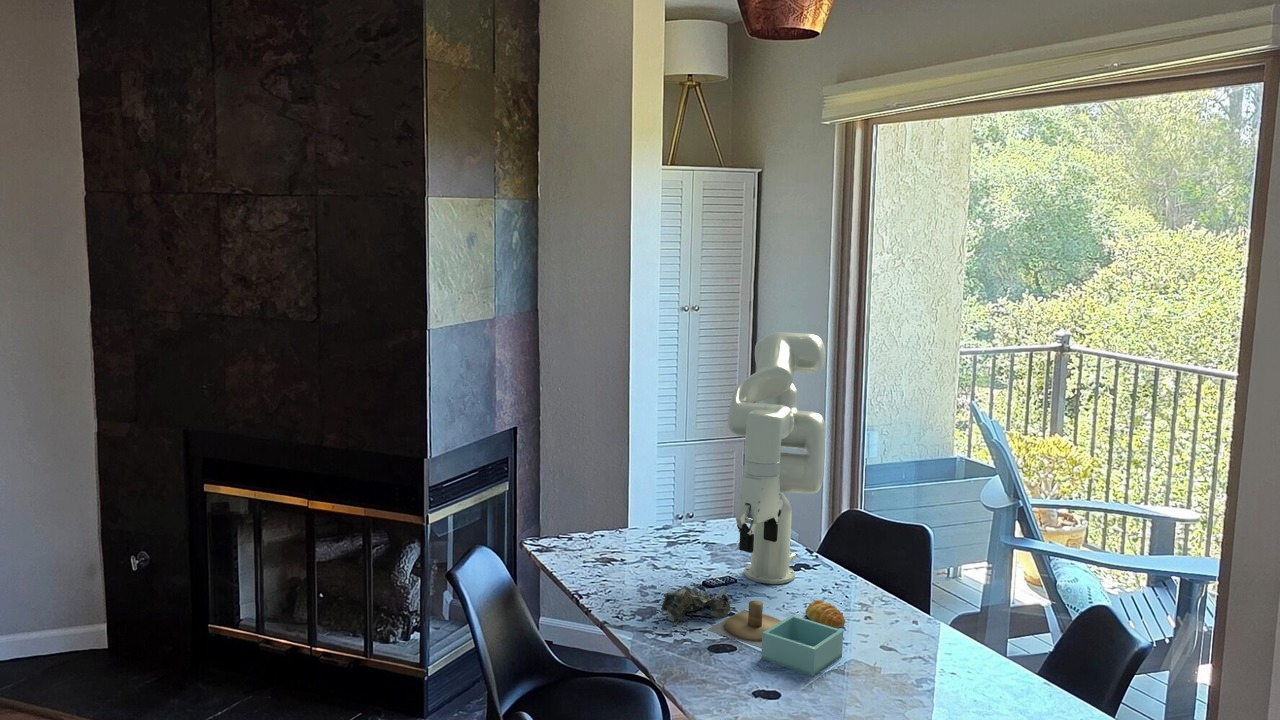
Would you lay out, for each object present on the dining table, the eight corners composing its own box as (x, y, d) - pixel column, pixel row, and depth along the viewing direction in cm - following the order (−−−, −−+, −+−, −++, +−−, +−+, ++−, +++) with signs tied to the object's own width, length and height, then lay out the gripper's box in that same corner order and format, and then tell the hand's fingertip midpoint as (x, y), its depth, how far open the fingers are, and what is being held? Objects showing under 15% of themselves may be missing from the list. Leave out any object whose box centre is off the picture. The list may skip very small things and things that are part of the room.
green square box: (790, 641, 219) (792, 615, 219) (841, 658, 212) (843, 630, 211) (761, 660, 210) (762, 632, 209) (813, 678, 203) (814, 649, 202)
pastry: (852, 627, 229) (853, 610, 228) (830, 633, 225) (830, 616, 225) (823, 612, 237) (824, 596, 236) (801, 618, 233) (802, 602, 232)
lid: (745, 611, 234) (746, 587, 233) (795, 627, 226) (797, 602, 225) (713, 629, 224) (714, 604, 223) (764, 646, 216) (766, 620, 215)
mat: (744, 611, 235) (744, 609, 235) (802, 629, 226) (802, 627, 226) (706, 631, 224) (706, 629, 224) (766, 651, 215) (766, 649, 214)
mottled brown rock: (738, 614, 225) (682, 578, 224) (710, 652, 227) (654, 616, 226) (734, 592, 237) (681, 557, 235) (707, 628, 239) (654, 593, 237)
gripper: (768, 458, 228) (764, 533, 231) (724, 472, 215) (721, 551, 217) (797, 464, 224) (793, 540, 226) (755, 479, 210) (751, 559, 213)
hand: (758, 545), depth 222 cm, fingers open, 9 cm apart
